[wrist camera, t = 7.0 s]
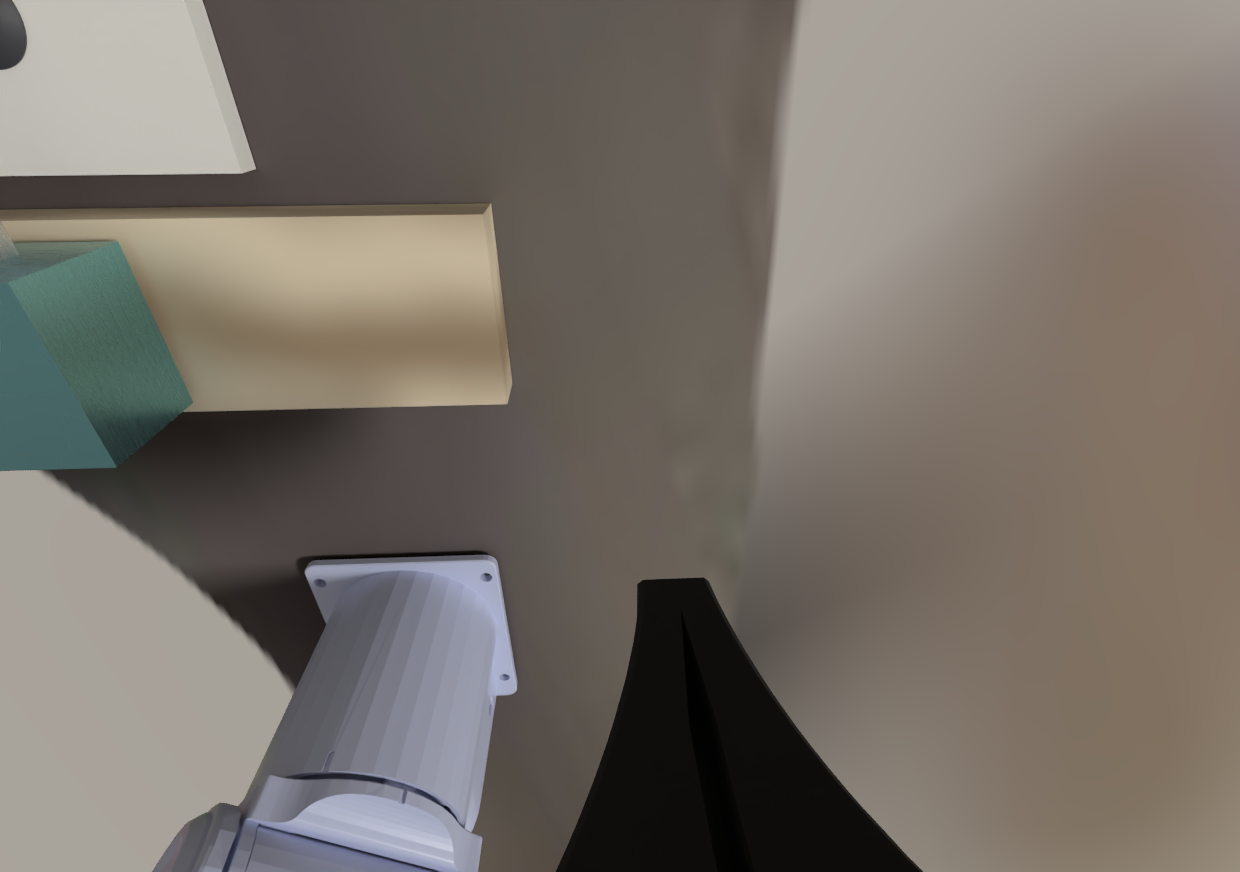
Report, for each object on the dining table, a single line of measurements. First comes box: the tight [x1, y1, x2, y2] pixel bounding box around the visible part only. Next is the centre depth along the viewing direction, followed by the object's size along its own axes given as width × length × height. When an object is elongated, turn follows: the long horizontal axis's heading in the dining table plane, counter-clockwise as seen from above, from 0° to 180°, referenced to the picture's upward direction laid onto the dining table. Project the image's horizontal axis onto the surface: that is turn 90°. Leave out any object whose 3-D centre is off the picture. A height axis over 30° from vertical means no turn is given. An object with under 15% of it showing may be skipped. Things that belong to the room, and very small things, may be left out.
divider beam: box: [0, 203, 512, 412], centre depth 15 cm, size 11×24×5 cm, turn 90°
